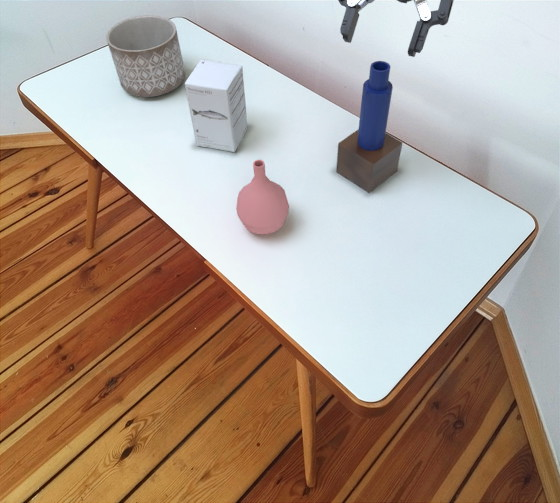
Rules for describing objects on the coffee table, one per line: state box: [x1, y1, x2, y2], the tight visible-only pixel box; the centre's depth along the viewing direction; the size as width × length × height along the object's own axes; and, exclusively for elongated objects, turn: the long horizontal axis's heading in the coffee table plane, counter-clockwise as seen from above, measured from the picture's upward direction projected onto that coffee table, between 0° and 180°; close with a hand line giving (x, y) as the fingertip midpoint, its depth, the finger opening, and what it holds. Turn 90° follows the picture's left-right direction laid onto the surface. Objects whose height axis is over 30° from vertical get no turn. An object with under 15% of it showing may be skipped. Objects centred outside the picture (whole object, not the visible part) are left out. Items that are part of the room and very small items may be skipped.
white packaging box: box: [184, 59, 248, 153], centre depth 86 cm, size 7×7×13 cm
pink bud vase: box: [235, 159, 290, 235], centre depth 73 cm, size 8×8×12 cm
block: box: [335, 128, 403, 194], centre depth 82 cm, size 7×7×6 cm
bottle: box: [357, 60, 394, 151], centre depth 74 cm, size 4×4×13 cm
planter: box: [105, 14, 186, 98], centre depth 98 cm, size 13×13×10 cm
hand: (378, 47), depth 65 cm, fingers open, 8 cm apart
